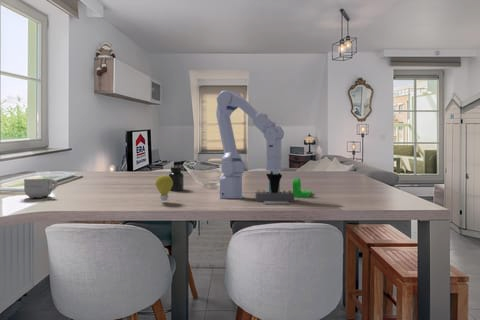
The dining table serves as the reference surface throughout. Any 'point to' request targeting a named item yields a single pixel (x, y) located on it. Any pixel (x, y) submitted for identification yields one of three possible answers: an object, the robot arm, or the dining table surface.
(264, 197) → the box
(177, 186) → the supplement bottle
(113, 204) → the dining table surface
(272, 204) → the pad
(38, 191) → the teacup
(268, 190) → the plug
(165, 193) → the light bulb
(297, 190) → the mechanical part
